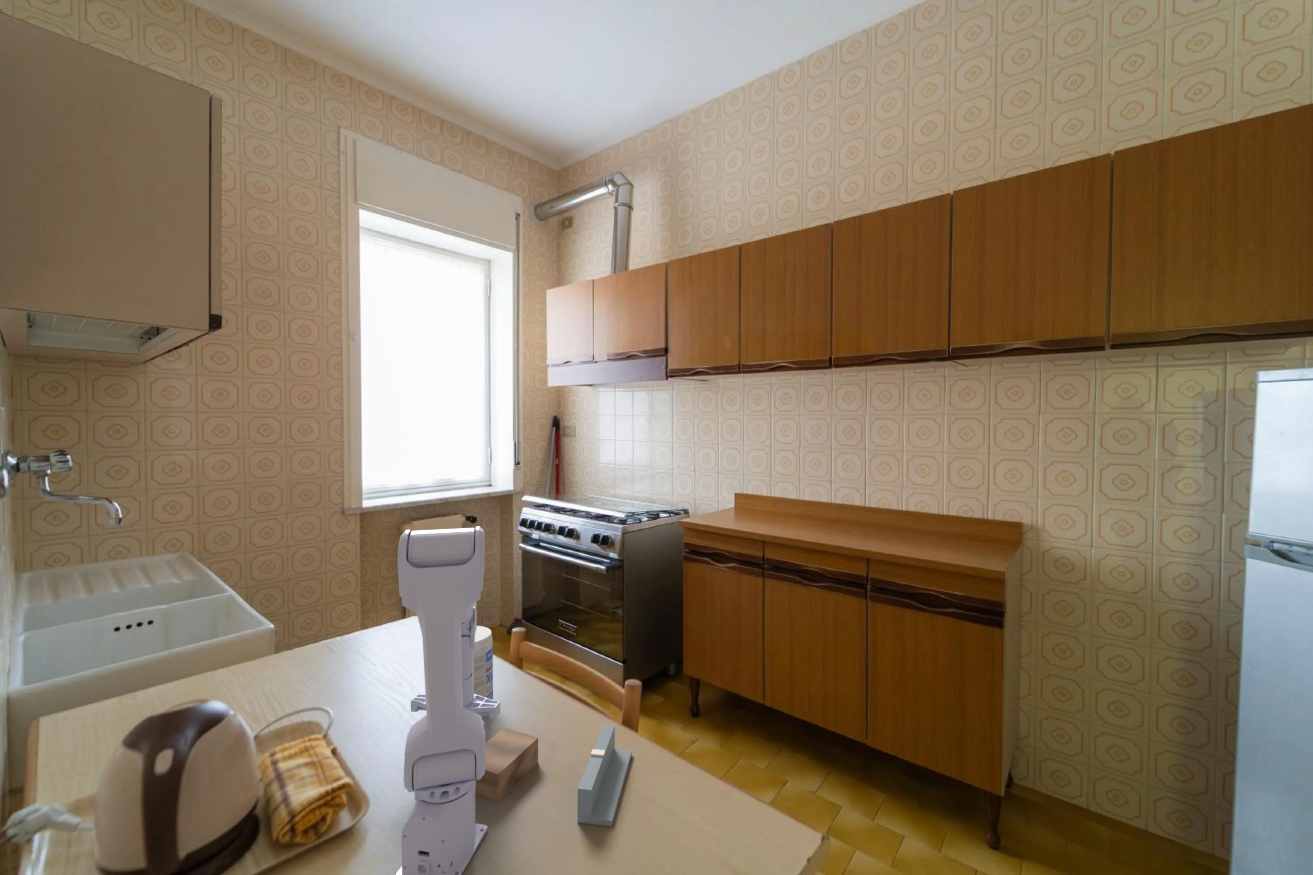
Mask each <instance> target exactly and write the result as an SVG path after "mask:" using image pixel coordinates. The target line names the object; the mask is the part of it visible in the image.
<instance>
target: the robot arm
mask: <svg viewBox="0 0 1313 875" xmlns="http://www.w3.org/2000/svg"><path fill="white" fill-rule="evenodd" d="M485 538H486V537H485V530H484V529H483V528H482V527H481V526H480V525H479V526H477V525H476V526H475V527H461V528H459V527H458V528H440V529H438V528H437V529H418V530H417V529H415V530H412V529H405V530H404V531H403V533H401V535H400V537H399V540H398V545H397V546H398V548H397V576H398V577H397V579H398V592H399V596H400V597H401V605H402V607H404V608H406V609H408V610H411V611H412V612H414V613H416V615H417V619H418V620H417V621H418V623H419V628H420V631H421V636H422V649H423V651H422V656H423V671H424V672H423V673H424V674H423V675H424V689H425V694H421V693H417V694H416V695H415V696H414V697H413V698H412V699H411V700H410V712H412V713H413V712H414V713H417V712H419V711H426V715H424V716H423V717H421V718H420V719H419V720H417V721H416V722H415V723H414V724H412V725H411V726H410V729H409V732H408V733H407V736H406V740H405V741H406V742H405V748H404V762H403V786H404V788H405V789H406V790H407V792H408V793H413V792H414V801H415V804H414V807H413V810H412V811H411V814H410V816H409V817H408V819H407V820H406V822H405V823H404V826H403V827H402V831H401V866H400V867H399V869H398V870H397V871H396V873H395V875H462V874H463V873H464V871H465V870H466V867H467V865H469V862H470V860H471V858H472V857H473V855H474V854H475V852H476V850H477V848H478V847H479V845H480V843H481V841H482V839H483V838H484V836H485V834H486V833H487V831H488V825H486V824H481V823H476V793H475V786H476V774H477V780H480V779H481V778H482V776H483V775H484V774H485V743H486V729H485V721H484V720H483V717H488V718H489V719H491V720H495V719H497V718H498V717H499V714H501V701H500V700H494V699H493V700H491V699H488V698H485V697H482V696H479V695H476V694H474V644H475V633H476V627H477V626H478V625H477V623H478V619H477V618H478V613H477V612H478V610H477V609H478V608H477V602H478V601H479V600H480V599H481V596H482V595H481V594H482V593H481V592H482V591H483V590H484V572H485V564H486V563H485V562H486V561H485V559H486V558H485V557H486V556H485V554H486V553H485V552H486V549H485V547H486V545H485Z"/></svg>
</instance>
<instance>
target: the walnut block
mask: <svg viewBox="0 0 1313 875" xmlns="http://www.w3.org/2000/svg"><path fill="white" fill-rule="evenodd" d="M538 763H539V737H538V736H533V735H530V734H527V733H523V732H520V731H518V730H514V729H510V728H507V727H504V728H502V729H501V730H500V731H498V732H497V733H496V734H495V735H493V736H492V737H491V738H490V739H489V740H488V741H485V774H484V775H483V776H482V778H481V779H480V780H477V774H476V786H475V795H479V796H481V797H483V798H486V799H489V800H491V801H495V802H496V803H498V802H500V800H502V799H503V798H504V797H505V796H506V794H508V793H509V792H510V791H511V790H512V789H513V788H514V787H515V786H516V785H517V784H518V783H519V782H520V781H521V780H522V779H523V778H524V776H526V775H527V774H528V772H530V771H531V770H532V769H533V768H535V766H536V765H537V764H538Z"/></svg>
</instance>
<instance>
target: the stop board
mask: <svg viewBox="0 0 1313 875" xmlns="http://www.w3.org/2000/svg"><path fill="white" fill-rule="evenodd" d="M615 732H616V725H615V724H607V723H603V725H602V727H601V730H600V732H599V735H598V737H597V739H596V742H595V745H594V747H593V749H592V750H591V752H590V757H589V759H588V763H587V765H586V767H585V770H584V772H583V775H582V777H581V779H580V782H579V784H578V787H577V823H579V824H589V825H596V826H597V825H598V826H604V827H612V826H613V823H614V820H615V816H616V812H617V809H618V806H619V805H618V804H619V803H620V799H621V794H622V791H623V787H624V783H625V780H626V777H627V774H628V769H629V765H630V762H631V759H632V755H633V753H632V752H633V750H631V749H621V748H620V749H618V748H616V747H615V745H616V742H615V741H616V735H615V734H616V733H615Z"/></svg>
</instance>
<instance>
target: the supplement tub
mask: <svg viewBox="0 0 1313 875" xmlns="http://www.w3.org/2000/svg"><path fill="white" fill-rule="evenodd" d="M492 635H493V634H492V630H491V629H490V628H488V627H486V626H481V625H477V627H476V633H475V644H474V694H476V695H479V696H482V697H485V698H488V699H491V700H494V660H493V659H494V657H493V656H494V655H493V654H494V652H493V651H494V646H493V642H494V640H493V636H492Z"/></svg>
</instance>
